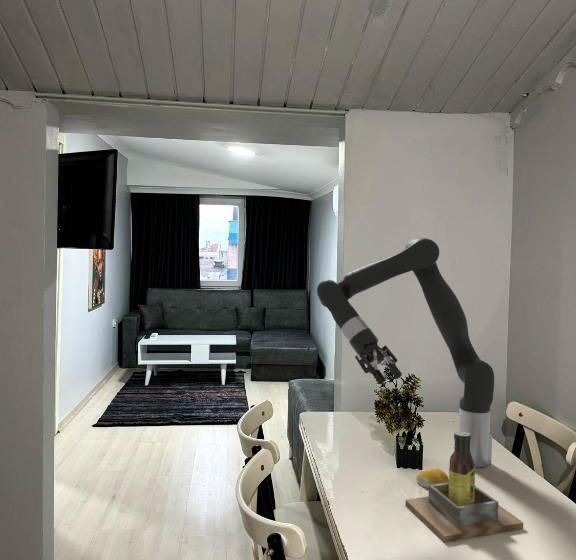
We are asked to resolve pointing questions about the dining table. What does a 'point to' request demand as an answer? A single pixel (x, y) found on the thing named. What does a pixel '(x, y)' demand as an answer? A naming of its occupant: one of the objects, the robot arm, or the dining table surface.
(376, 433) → the dining table surface
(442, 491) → the bottle stand
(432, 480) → the bread roll
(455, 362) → the robot arm
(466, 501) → the sauce bottle
